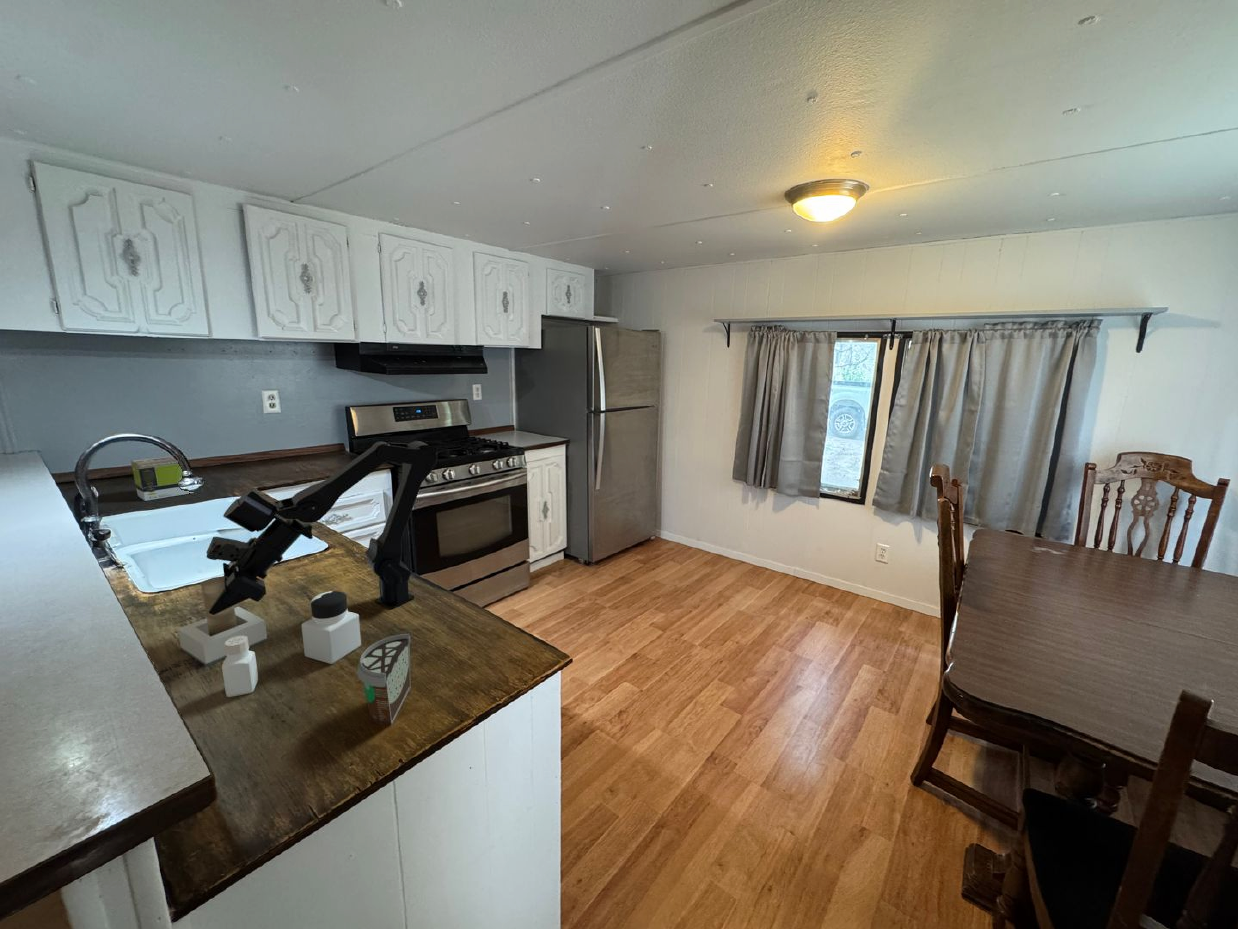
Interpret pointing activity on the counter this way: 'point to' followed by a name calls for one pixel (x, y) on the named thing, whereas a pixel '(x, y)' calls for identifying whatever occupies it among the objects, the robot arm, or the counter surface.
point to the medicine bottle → (330, 628)
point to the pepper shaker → (239, 667)
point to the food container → (386, 676)
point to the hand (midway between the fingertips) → (210, 608)
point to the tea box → (157, 478)
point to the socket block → (220, 637)
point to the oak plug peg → (210, 595)
